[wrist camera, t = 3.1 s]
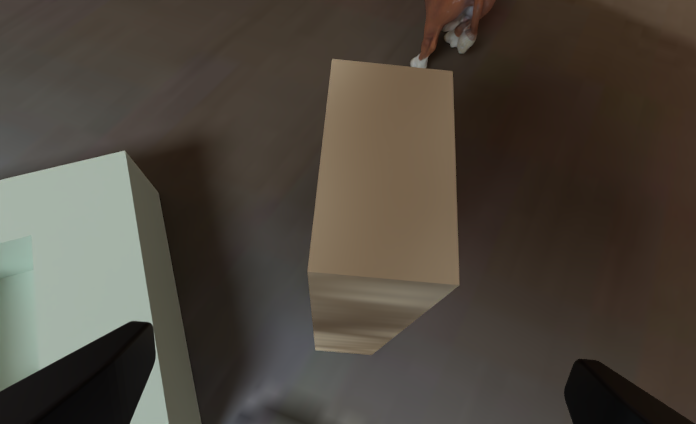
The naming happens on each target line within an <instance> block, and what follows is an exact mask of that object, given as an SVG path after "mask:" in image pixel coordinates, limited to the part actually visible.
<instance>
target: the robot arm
mask: <svg viewBox="0 0 696 424" xmlns="http://www.w3.org/2000/svg"><path fill="white" fill-rule="evenodd" d="M155 359H156V350H155V339H154V329H153V325H152V324H151V323H150V322H142V321H130V322H128V323H126V324H124V325H122V326H120V327H119V328H117V329H115V330H113V331H111V332H109V333H107V334H106V335H104V336H102V337H100V338H98V339H96V340H94V341H93V342H91V343H89V344H87V345H85V346H83V347H81V348H80V349H78V350H76V351H74V352H72V353H70V354H68V355H67V356H65V357H63V358H61V359H59V360H57V361H55V362H54V363H52V364H50V365H48V366H46V367H44V368H42V369H41V370H39V371H37V372H35V373H33V374H31V375H29V376H28V377H26V378H24V379H22V380H20V381H18V382H16V383H15V384H13V385H11V386H9V387H7V388H5V389H3V390H2V391H0V424H130V422H131V420H132V417H133V415H134V413H135V410H136V408H137V405H138V403H139V400H140V398H141V396H142V393H143V391H144V388H145V386H146V383H147V381H148V378H149V376H150V374H151V371H152V369H153V366H154V363H155ZM564 396H565V401H566V404H567V407H568V410H569V413H570V416H571V419H572V421H573V424H695V423H693V422H691V421H690V420H688V419H687V418H685V417H684V416H682V415H681V414H679V413H678V412H676V411H675V410H673V409H671V408H670V407H668V406H667V405H665V404H664V403H662V402H661V401H659V400H658V399H656V398H655V397H653V396H651V395H650V394H648V393H647V392H645V391H644V390H642V389H641V388H639V387H638V386H636V385H635V384H633V383H631V382H630V381H628V380H627V379H625V378H624V377H622V376H621V375H619V374H618V373H616V372H615V371H613V370H611V369H610V368H608V367H607V366H605V365H604V364H602V363H601V362H599V361H596V360H588V359H578V360H576V361H575V362H574V364H573V367H572V369H571V372H570V375H569V378H568V380H567V383H566V386H565V390H564Z"/></svg>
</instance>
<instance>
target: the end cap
mask: <svg viewBox="0 0 696 424" xmlns="http://www.w3.org/2000/svg"><path fill="white" fill-rule="evenodd" d="M130 321H142V322H150V323H151V324H152V325H153V329H154V339H155V350H156V359H155V363H154V366H153V369H152V371H151V374H150V376H149V378H148V381H147V383H146V386H145V388H144V391H143V393H142V396H141V398H140V400H139V403H138V405H137V408H136V410H135V413H134V415H133V417H132V420H131V422H130V424H202V423H201V418H200V413H199V407H198V402H197V397H196V391H195V386H194V380H193V375H192V370H191V364H190V359H189V354H188V348H187V343H186V337H185V332H184V327H183V321H182V316H181V311H180V305H179V300H178V294H177V289H176V284H175V278H174V273H173V268H172V262H171V257H170V251H169V246H168V241H167V235H166V230H165V225H164V219H163V214H162V208H161V203H160V198H159V193H158V191H157V190H156V189H155V188H154V186H153V185H152V184H151V183H150V181H149V180H148V179H147V178H146V176H145V175H144V174H143V172H142V171H141V170H140V169H139V167H138V166H137V165H136V164H135V162H134V161H133V160H132V159H131V157H130V156H129V155H128V154H127V152H126V151H121V152H117V153H113V154H108V155H104V156H100V157H96V158H92V159H87V160H83V161H79V162H75V163H70V164H66V165H62V166H58V167H53V168H49V169H45V170H41V171H36V172H32V173H28V174H24V175H20V176H15V177H11V178H7V179H3V180H0V391H2V390H3V389H5V388H7V387H9V386H11V385H13V384H15V383H16V382H18V381H20V380H22V379H24V378H26V377H28V376H29V375H31V374H33V373H35V372H37V371H39V370H41V369H42V368H44V367H46V366H48V365H50V364H52V363H54V362H55V361H57V360H59V359H61V358H63V357H65V356H67V355H68V354H70V353H72V352H74V351H76V350H78V349H80V348H81V347H83V346H85V345H87V344H89V343H91V342H93V341H94V340H96V339H98V338H100V337H102V336H104V335H106V334H107V333H109V332H111V331H113V330H115V329H117V328H119V327H120V326H122V325H124V324H126V323H128V322H130Z"/></svg>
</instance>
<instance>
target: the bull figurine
mask: <svg viewBox="0 0 696 424" xmlns="http://www.w3.org/2000/svg"><path fill="white" fill-rule="evenodd" d="M424 1H425V7H426V22H425V28H424V39H423V41H422V45H421V53H420V54H419V55H418V56H417V57H415V58H413V59H411V61H410V66H411V67H417V68H426V67H427V62H428V57H429V55H430V54H431V53H432V52H434V51H435V49H436V45H437V42H438V37H439V34H440V32H441V30H442V31H444V32H445V31H448V32H447V33H446V34H445V35H444V40H445V41H446V42H447V43H450V46H451V47H452V48H453V47H457V49H458V52H459V53H460V54H461V53H465V52H466V51H467V49H468V48H470V47H471V46H472V45H473V43H474V42H475V40H476V36H477V28H478V23H479V19H481V18H482V17H483V16H485V15H486V14H487V13H488V12H489V11H490V9H491V8H492V6H493V5H494V3H495V1H496V0H424ZM470 27H471V28H470Z"/></svg>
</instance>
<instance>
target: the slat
mask: <svg viewBox="0 0 696 424" xmlns="http://www.w3.org/2000/svg"><path fill="white" fill-rule="evenodd" d="M307 272H308V282H309V292H310V302H311V312H312V321H313V331H314V341H315V350H318V351H330V352H342V353H354V354H366V355H372V354H373V353H375V352H376V351H377V350H378V349H380V348H381V347H382V346H383V345H385V344H386V343H387V342H389V341H390V340H391V339H392V338H394V337H395V336H396V335H397V334H399V333H400V332H401V331H402V330H404V329H405V328H406V327H407V326H409V325H410V324H411V323H412V322H414V321H415V320H416V319H417V318H419V317H420V316H421V315H423V314H424V313H425V312H426V311H428V310H429V309H430V308H431V307H433V306H434V305H435V304H436V303H438V302H439V301H440V300H441V299H443V298H444V297H445V296H446V295H448V294H449V293H450V292H451V291H453V290H454V289H455V288H457V287H458V286H459V255H458V223H457V191H456V159H455V127H454V95H453V71H446V70H436V69H426V68H417V67H407V66H397V65H387V64H377V63H367V62H358V61H348V60H338V59H332V65H331V73H330V82H329V91H328V99H327V108H326V116H325V125H324V134H323V142H322V151H321V159H320V168H319V177H318V185H317V194H316V202H315V211H314V219H313V228H312V237H311V245H310V254H309V262H308V271H307Z"/></svg>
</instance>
